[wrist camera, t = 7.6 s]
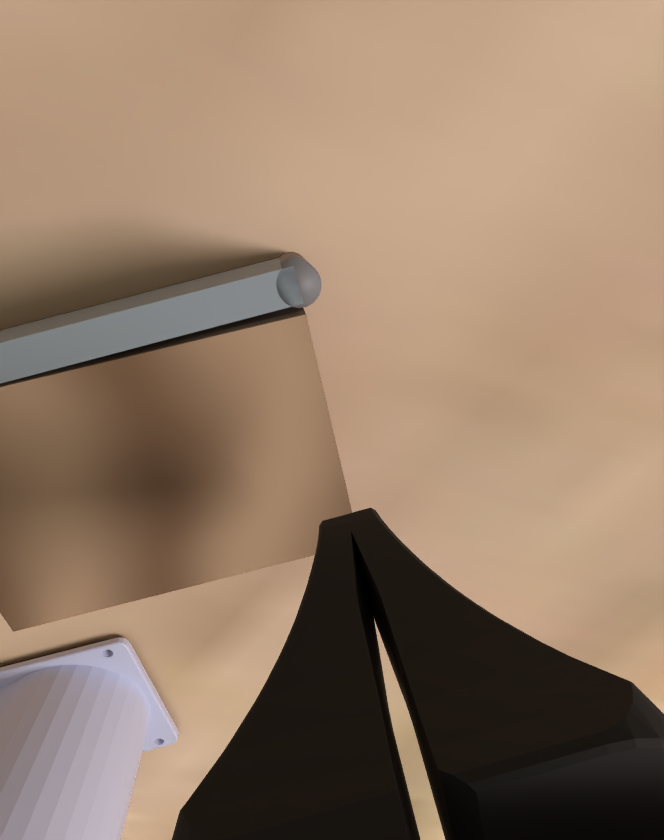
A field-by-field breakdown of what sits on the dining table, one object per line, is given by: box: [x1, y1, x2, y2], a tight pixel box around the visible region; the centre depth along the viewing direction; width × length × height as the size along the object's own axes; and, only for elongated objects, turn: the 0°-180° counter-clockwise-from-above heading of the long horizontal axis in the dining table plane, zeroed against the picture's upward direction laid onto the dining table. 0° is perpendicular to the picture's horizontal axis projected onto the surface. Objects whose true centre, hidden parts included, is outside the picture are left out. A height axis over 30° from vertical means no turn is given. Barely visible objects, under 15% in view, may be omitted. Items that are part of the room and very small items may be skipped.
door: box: [0, 252, 321, 384], centre depth 14 cm, size 13×1×6 cm, turn 104°
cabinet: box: [0, 307, 352, 631], centre depth 16 cm, size 12×8×5 cm, turn 102°
